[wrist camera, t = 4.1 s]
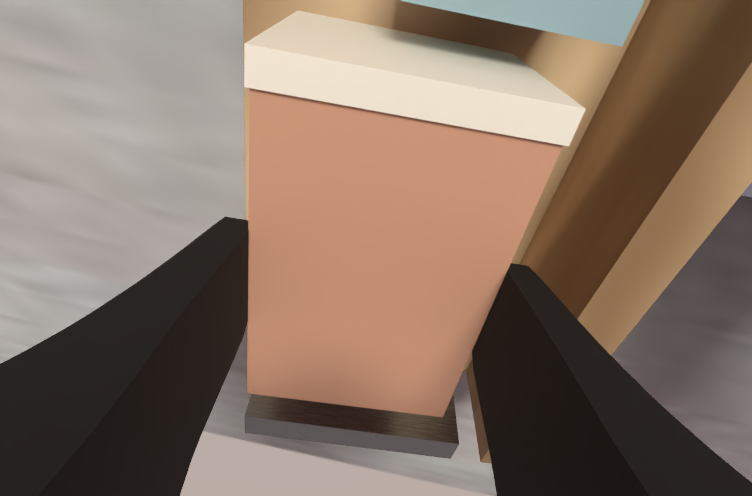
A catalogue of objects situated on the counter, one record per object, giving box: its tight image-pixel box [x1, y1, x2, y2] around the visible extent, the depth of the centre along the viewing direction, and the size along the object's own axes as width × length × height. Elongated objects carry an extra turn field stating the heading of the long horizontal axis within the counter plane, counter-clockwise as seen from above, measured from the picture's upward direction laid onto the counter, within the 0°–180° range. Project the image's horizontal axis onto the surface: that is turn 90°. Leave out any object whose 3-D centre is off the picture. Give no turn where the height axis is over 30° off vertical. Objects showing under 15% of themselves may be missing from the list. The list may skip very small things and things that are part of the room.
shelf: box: [243, 0, 752, 463], centre depth 12 cm, size 12×20×5 cm, turn 170°
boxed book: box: [244, 10, 586, 417], centre depth 10 cm, size 5×8×4 cm, turn 170°
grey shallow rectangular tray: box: [245, 394, 459, 459], centre depth 17 cm, size 7×2×5 cm, turn 80°
